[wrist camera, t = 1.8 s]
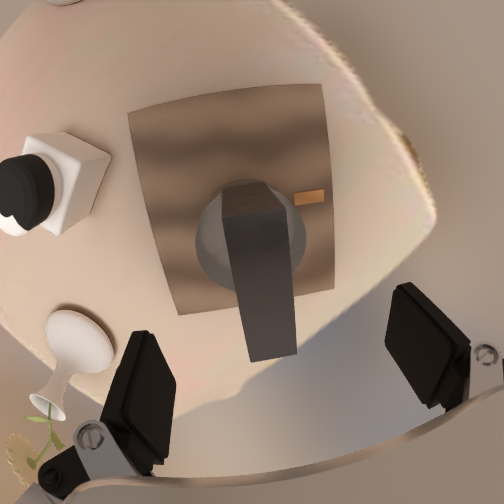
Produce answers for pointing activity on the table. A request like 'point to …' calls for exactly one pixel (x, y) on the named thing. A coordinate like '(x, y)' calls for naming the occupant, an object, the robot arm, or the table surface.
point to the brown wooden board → (234, 177)
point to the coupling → (255, 260)
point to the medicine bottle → (50, 183)
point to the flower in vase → (60, 382)
